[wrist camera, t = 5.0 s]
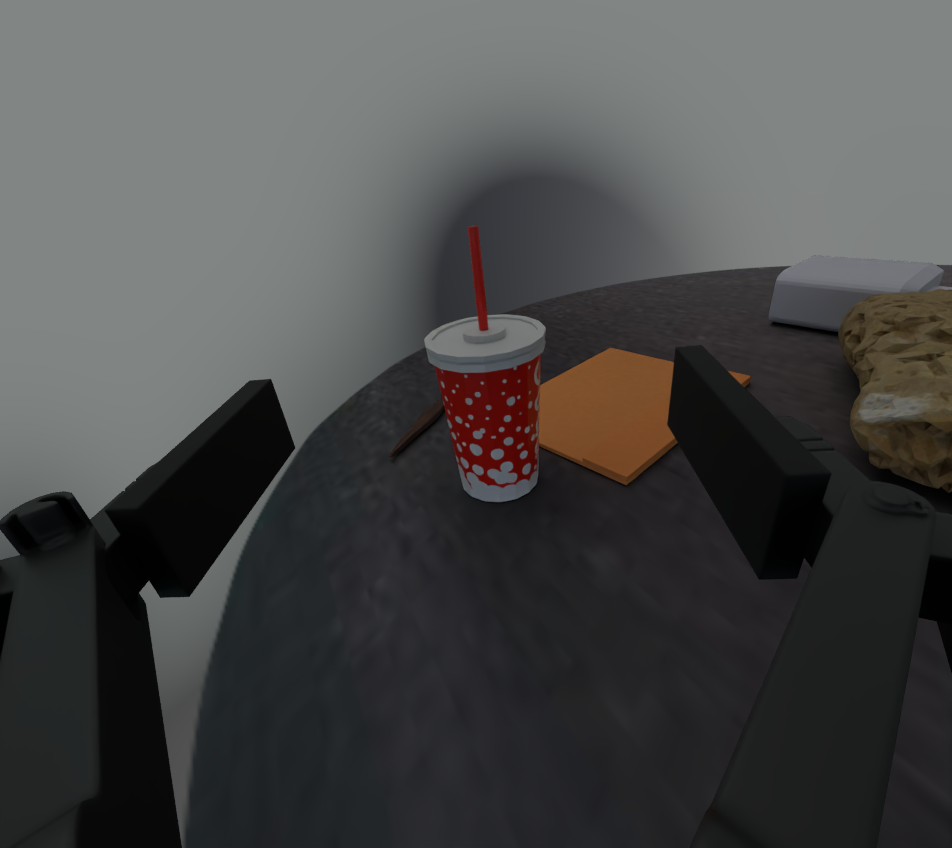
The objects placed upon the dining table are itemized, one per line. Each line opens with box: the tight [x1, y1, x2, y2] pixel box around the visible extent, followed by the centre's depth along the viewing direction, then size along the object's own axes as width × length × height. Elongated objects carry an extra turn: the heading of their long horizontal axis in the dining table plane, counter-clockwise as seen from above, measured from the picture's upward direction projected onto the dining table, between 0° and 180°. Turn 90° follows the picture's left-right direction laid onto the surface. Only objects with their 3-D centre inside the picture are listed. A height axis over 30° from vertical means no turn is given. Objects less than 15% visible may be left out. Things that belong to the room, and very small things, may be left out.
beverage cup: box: [424, 225, 546, 502], centre depth 25 cm, size 6×6×14 cm
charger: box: [769, 256, 952, 332], centre depth 40 cm, size 5×9×15 cm
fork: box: [389, 398, 445, 457], centre depth 37 cm, size 3×16×2 cm, turn 157°
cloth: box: [539, 348, 751, 485], centre depth 34 cm, size 16×12×1 cm
